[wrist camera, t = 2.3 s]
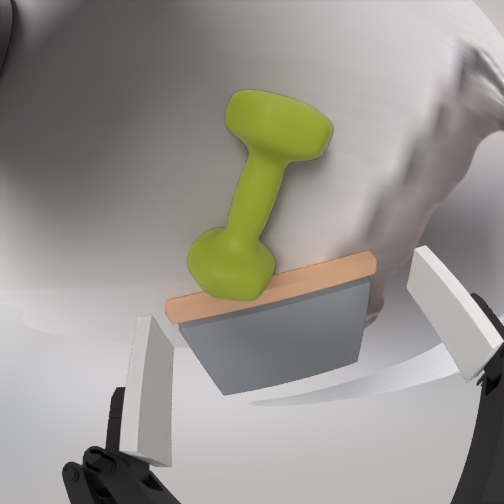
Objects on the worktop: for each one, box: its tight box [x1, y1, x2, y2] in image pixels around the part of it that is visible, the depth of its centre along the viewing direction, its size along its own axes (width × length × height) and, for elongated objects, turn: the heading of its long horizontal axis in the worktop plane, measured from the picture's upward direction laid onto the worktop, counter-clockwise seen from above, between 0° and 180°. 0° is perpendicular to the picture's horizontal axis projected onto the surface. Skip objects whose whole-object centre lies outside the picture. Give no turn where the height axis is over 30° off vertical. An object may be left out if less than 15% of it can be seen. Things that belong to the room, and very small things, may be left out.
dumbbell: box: [187, 89, 334, 301], centre depth 21 cm, size 16×8×7 cm, turn 162°
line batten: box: [165, 250, 377, 324], centre depth 30 cm, size 2×24×2 cm, turn 101°
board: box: [179, 276, 371, 395], centre depth 38 cm, size 20×24×1 cm
